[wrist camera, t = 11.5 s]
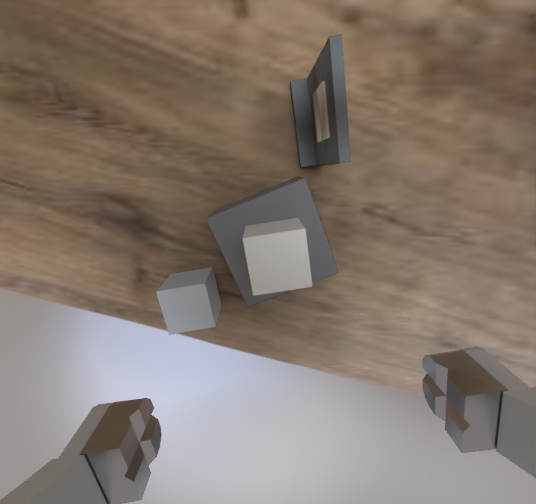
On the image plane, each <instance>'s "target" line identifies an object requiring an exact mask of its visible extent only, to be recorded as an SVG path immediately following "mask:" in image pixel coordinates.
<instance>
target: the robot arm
mask: <svg viewBox="0 0 536 504" xmlns="http://www.w3.org/2000/svg"><path fill="white" fill-rule="evenodd" d="M423 368H424V369H425V371H426V372H427V374H426V376H425V377H424V378H423V391H424V395H425V398H426V401H427V403H428V405H429V407H430V408H431V410H432V411H433V413H434V414H435V415H436V416H438V417H439V418H441V419H443V420H444V421H445V430H446V431H447V433H448V434H449V435H450V437H451V438H452V440H453V441H454V443H455V444H456V445H457V447H458V448H459V449H460V451H461V452H462V453H466V452H475V451H484V450H492V449H497V450H496V451H497V452H499V453H500V454H501V455H503V456H504V457H506V458H507V459H509V460H510V461H512V462H513V463H515V464H516V465H518V466H519V467H520V468H522V469H524V470H525V471H526V472H528V473H529V474H531V475H532V476H534V477H535V478H536V387H532V388H530V387H529V386H528V385H526V384H525V383H524V382H523V381H522V380H520V379H519V378H518V377H517V376H515V375H514V374H513V373H512V372H511V371H509V370H508V369H507V368H506V367H505V366H503V365H502V364H501V363H500V362H498V361H497V360H496V359H495V358H494V357H492V356H491V355H490V354H489V353H487V352H486V351H485V350H484V349H482V348H480V347H472V348H466V349H460V350H456V351H450V352H444V353H438V354H431V355H425V356H424V358H423ZM153 409H154V407H153V405H152V402H151V400H150V399H148V398H144V399H136V400H128V401H120V402H114V403H107V404H99V405H97V406H95V407H94V408H92V410H91V411H90V413H89V414H88V416H87V417H86V418H85V420H84V421H83V423H82V424H81V426H80V427H79V429H78V430H77V432H76V433H75V434H74V436H73V437H72V439H71V440H70V442H69V443H68V445H67V446H66V448H65V449H64V451H63V452H62V453H61V455H60V456H59V458H58V459H53V460H51V461H50V462H49V463H47V464H46V465H45V466H43V467H42V468H41V469H40V470H38V471H37V472H36V473H35V474H33V475H32V476H31V477H29V478H28V479H27V480H26V481H24V482H23V483H22V484H20V485H19V486H18V487H17V488H15V489H14V490H13V491H12V492H10V493H9V494H8V495H6V496H5V497H4V498H3V499H1V500H0V504H122V503H127V502H133V501H138V500H142V497H143V494H144V491H145V488H146V486H147V483H148V480H149V477H150V474H151V472H150V469H149V466H148V465H149V464H150V463H151V462H152V461H153V460H154V459H155V458H156V457H157V454H158V451H159V448H160V441H161V428H160V424H159V421H158V419H156V418H155V417H154V416H152V415H151V414H152V411H153Z"/></svg>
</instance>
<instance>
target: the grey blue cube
mask: <svg viewBox="0 0 536 504" xmlns="http://www.w3.org/2000/svg"><path fill="white" fill-rule="evenodd" d="M156 293H157V297H158V300H159V303H160V306H161V310H162V313H163V316H164V319H165V323H166V326H167V329H168V333H169V334H175V333H181V332H188V331H194V330H200V329H206V328H212V327H216V324H217V320H218V317H219V313H220V309H221V306H222V305H221V301H220V296H219V292H218V288H217V284H216V279H215V275H214V271H213V267H210V268H204V269H198V270H192V271H186V272H180V273H174V274H170V275H169V277H168V278H167V279H166V280H165V281H164V283H163V284H162V285H161V286H160V287H159V289H158V290H157V291H156Z"/></svg>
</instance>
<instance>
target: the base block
mask: <svg viewBox="0 0 536 504" xmlns="http://www.w3.org/2000/svg"><path fill="white" fill-rule="evenodd" d="M292 218H298V219H299V220H300V222H301V223H302V224H303V226H304V227H305V229H306V237H307V245H308V254H309V262H310V270H311V278H312V282H315V281H317V280H320V279H323V278H325V277H328V276H331V275H333V274H336V273H339V272H338V269H337V266H336V264H335V261H334V258H333V255H332V252H331V249H330V246H329V244H328V241H327V238H326V235H325V232H324V229H323V227H322V224H321V221H320V218H319V215H318V212H317V210H316V207H315V204H314V201H313V198H312V195H311V192H310V190H309V187H308V184H307V181H306V178H304V177H299V176H298V177H296V178H293V179H291V180H289V181H286V182H284V183H281V184H279V185H276V186H274V187H272V188H269V189H267V190H264V191H262V192H260V193H257V194H255V195H252V196H250V197H247V198H245V199H243V200H240V201H238V202H235V203H233V204H230V205H228V206H226V207H223V208H221V209H218V210H216V211H214V212H213V213H211V214H210V215H209V216H208V217H207V218H206V220H207V222H208V224H209V226H210V228H211V230H212V232H213V235H214V237H215V239H216V241H217V243H218V245H219V247H220V249H221V252H222V254H223V256H224V258H225V260H226V262H227V264H228V266H229V269H230V271H231V273H232V275H233V277H234V279H235V281H236V283H237V286H238V288H239V290H240V292H241V294H242V296H243V298H244V300H245V303H246V305H247V307H249V306H251V305H254V304H257V303H259V302H262V301H265V300H267V299H270V298H273V297H275V296H278V295H280V294H283V293H286V292H288V291H291V290H288V291H281V292H275V293H268V294H262V295H255V296H253V292H252V287H251V281H250V276H249V271H248V265H247V260H246V255H245V249H244V244H243V239H242V238H243V234H244V231H245V227H246V226H248V225H255V224H261V223H267V222H274V221H280V220H286V219H292Z"/></svg>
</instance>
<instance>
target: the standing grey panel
mask: <svg viewBox="0 0 536 504" xmlns="http://www.w3.org/2000/svg"><path fill="white" fill-rule="evenodd" d="M290 87H291V95H292V104H293V112H294V120H295V129H296V137H297V145H298V153H299V162H300V167H306V166H312V165H320V164H338V163H345V162H351V158H350V144H349V130H348V116H347V102H346V88H345V74H344V60H343V46H342V34H340V35H335V36H329V38H328V40H327V42H326V44H325V46H324V48H323V50H322V52H321V53H320V55H319V57H318V59H317V61H316V63H315V65H314V67H313V69H312V70H311V72H310V74H309V76H308V78H306V79H300V80H294V81H291V82H290Z"/></svg>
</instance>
